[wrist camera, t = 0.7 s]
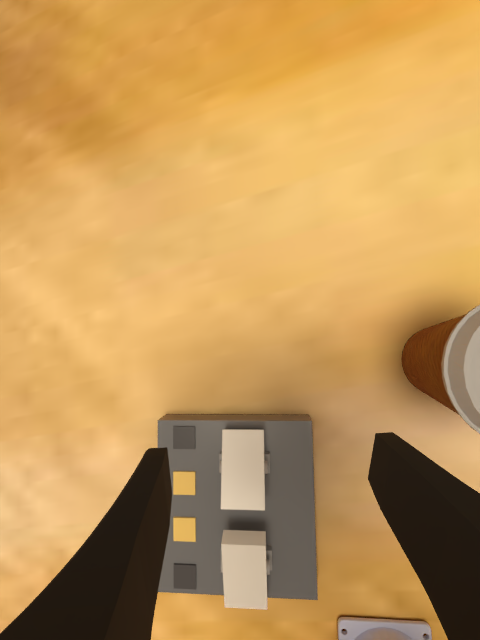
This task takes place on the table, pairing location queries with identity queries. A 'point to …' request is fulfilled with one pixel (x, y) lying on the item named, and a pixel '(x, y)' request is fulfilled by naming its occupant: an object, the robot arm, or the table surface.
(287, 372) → the table surface
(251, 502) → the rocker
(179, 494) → the switch unit
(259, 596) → the rocker
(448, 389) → the disposable coffee cup
